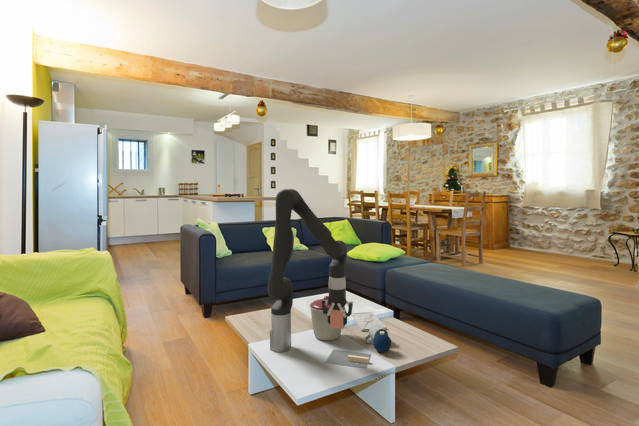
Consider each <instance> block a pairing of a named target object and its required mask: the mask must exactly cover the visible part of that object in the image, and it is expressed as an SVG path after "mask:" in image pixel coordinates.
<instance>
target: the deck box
mask: <svg viewBox="0 0 639 426" xmlns="http://www.w3.org/2000/svg"><path fill="white" fill-rule="evenodd" d="M343 317H344V316H343V314H342V313H341V310H333V309H332V311H331V313H330V327H331V328H340V329H341V330H344V329H345V326H346V325H345V326H344V325H343Z"/></svg>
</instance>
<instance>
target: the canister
mask: <svg viewBox="0 0 639 426" xmlns="http://www.w3.org/2000/svg"><path fill="white" fill-rule="evenodd" d="M324 299H325V300H328V299H329V295H325V296H324V297H323V298H318V299H316V300H313V301H312V302H310V303H309V305H308V307H309V308H310V314H311V322H312V323H311V324H312V331H313V335H314V337H316V339H317V340H320V341H327V342H328V341H334V340H336V339H338V338H340V336H341V333H342V329H340V328H331V327H330V324H329V323H328V316H327V315H326V314H323V308H322V301H323V300H324ZM330 307H331V306H330V305H329V303H328V302H327V311H329V309H330Z"/></svg>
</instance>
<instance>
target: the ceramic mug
mask: <svg viewBox="0 0 639 426" xmlns="http://www.w3.org/2000/svg"><path fill="white" fill-rule="evenodd" d="M380 331H384V334H386V335H388V336H389V332H388V331H387V329H386V330H385V329H384V328H382V327H380V326H378V325H374V326H372V327H371V328H370V329H369V331H368V335H366V336H365V337H364V339H363V340H364V342H365V343H366V344H368V345H369V344H373V339H374V337H375V336H376V335H377V334H380ZM369 338H371V339H369Z"/></svg>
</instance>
